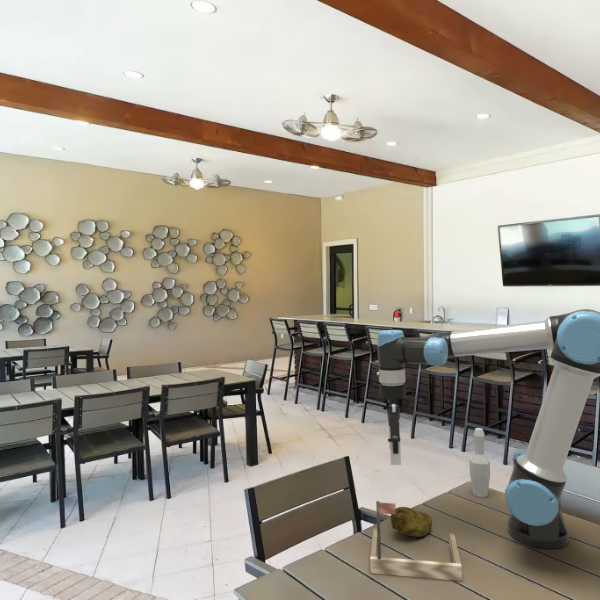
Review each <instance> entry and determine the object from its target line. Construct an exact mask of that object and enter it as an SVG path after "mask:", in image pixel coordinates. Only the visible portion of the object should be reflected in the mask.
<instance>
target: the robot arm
mask: <svg viewBox="0 0 600 600" xmlns="http://www.w3.org/2000/svg"><path fill="white" fill-rule="evenodd" d="M376 348H377V362H378V371H377V372H376V376H378V382H379V386H378V387H379V388H378V389H379V393H378V395H379V397H381V398H382V399H385V400H386V399H387V401H386V402H385V407H386V408H385V409H386V412H387V413H386V414H387V419H388V420H387V422H388V438H387V443H388V445H389V450H390V465H391V466H392V465H393V466H401V465H402V457H401V455H402V454H401V434H400V419H401V417H400V416H401V412H400V411H401V404H400V401H399V402H398V400H399V399H400V400H401V399H404V398H405V397H406V393H407V392H406V389H407V388H406V384H405V382H406V369H405V368H406V367H405V364H406V365H409V364H414V365H427V366H428V365H430V366H440V365H441V366H442V365H445V364H446V363H447V361H448V358H454V357H465V356H476V355H477V356H478V355H479V356H480V355H488V354H489V355H490V354H501V353H511V352H522V351H523V352H524V351H525V352H526V351H534V350H535V351H537V350H546V349H547V350H548V349H549V350H551V353H550V356H549V358H550V361H551V362H552V363H553V370H552V373H551V376H550V379H549V382H548V384H547V388H546V391H545V393H544V397H543V399H542V400H543V401H542V402H541V403H542V404H541V406H540V409H539V413H538V415H537V417H536V421H535V424H534V427H533V431H532V433H531V437H530V439H529V443H528V446H527V448H526V449H517V450H515V451H514V452H513V457H512V459H511V460H512V461H513V464H512V465H513V468H512V473H511V475H510V479H509V480H508V484H507V486H506V488H505V490H504V499H505V503H506V504H505V505H506V507H507V508H508V510H509V511H510V514H509V517H508V521H507V531H508V533H509V535H510V536H511V537H512V538H513V539H515V540H516V541H518V542H520V543H522V544H525V545H527V546H531V547H535V548H538V549H539V548H540V549H553V550H554V549H559V548H564V547H565V546H567V545H568V543H569V541H570V539H569V537H570V536H569V530H568V526H567V524H566V521H565V518H564V516H563V513H562V507H561V506H562V505H561V500H562V499H561V498H562V494H563V491H564V488H565V486H566V482H567V480H568V477H567V475H566V473H565V471H564V465H565V464H566V460H567V457H568V454H569V451H570V448H571V446H572V443H573V439H574V438H575V434H576V431H577V428H578V425H579V423H580V420H581V417H582V414H583V411H584V408H585V406H586V402H587V400H588V397H589V394H590V391H591V388H592V386H593V383H594V380H595V379H596V378H598V377H599V378H600V312H599V311H597V310H594V309H588V308H587V309H578V310H575V311H571V312H569V313H568V312H567V313H564V314H563V313H562V314H559V315H549V316H548V317H547V318H546V319H545V320H541V321H540V320H539V321H534V322H533V321H532V322H531V321H530V322H525V323H513V324H506V325H498V326H490V327H480V328H472V329H471V328H470V329H464V330H463V329H462V330H455V331H445V332H439V331H438V332H434V333H433V332H432V333H431V334H429V335H426V336H424V337H409V336H408V337H406V336H405V335H404V331H403V330H400V329H388V330H387V329H385V330H384V329H383V330H380V331H379V332H378V333H377V346H376Z"/></svg>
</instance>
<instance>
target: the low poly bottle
mask: <svg viewBox="0 0 600 600" xmlns="http://www.w3.org/2000/svg"><path fill="white" fill-rule="evenodd" d="M473 441H474V454H473V455H472V456H471V458H470V459H469V476H470V483H471V489H472V495H474V496H475V497H477V498H487V497H488V495H489V488H490V486H489V485H490V481H491V480H490V478H491V462H490V460H489V458H488V457H487V456H486V454H485V432H484V430H483V428H482V427H481V428H480V427H476V428H475V429H474V432H473Z"/></svg>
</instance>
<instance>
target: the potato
mask: <svg viewBox="0 0 600 600" xmlns="http://www.w3.org/2000/svg"><path fill="white" fill-rule="evenodd" d="M390 522H391V528H392V529H393V530H395V531H396V532H398V533H399V534H401V535H405V536H407V535H408V536H410V537H414V538H417V537H418V538H420V537H423V536H426V535H427V534H428V533H429V532H430V531H431V529H432V527H433V520H432V517H431V516H430V515H429V514H427V513H426V512H423V511H419V510H415V509H412V508H410V507H408V506H399V507H396V514H390Z"/></svg>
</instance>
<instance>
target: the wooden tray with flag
mask: <svg viewBox="0 0 600 600" xmlns="http://www.w3.org/2000/svg"><path fill="white" fill-rule="evenodd" d="M375 503H376V504H375V506H376V508H375V509H376V528H372V537H371V546H370V548H371V549H370V558H369V560H370V561H369V562H370V563H369V566H370V568H369V569H370V574H378V575H379V574H380V575H387V576H388V575H389V576H399V577H400V576H401V577H409V578H421V579H432V580H434V579H435V580H443V581H444V580H445V581H455V582H463V570H462V569H463V568H462V563H461V558H460V554H459V550H458V546H457V545H458V544H457V541H456V536H455V534H453V533H449V550H450V555H451V560H452V562H443V561H431V560H420V559H409V558H397V557H396V558H394V557H385V556H383V557H382V543H381V515H382V514H384V515H391V514H396V508H397V507H396V505H397V504H396V502H395V503H393V502H380V500H376V502H375Z"/></svg>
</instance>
